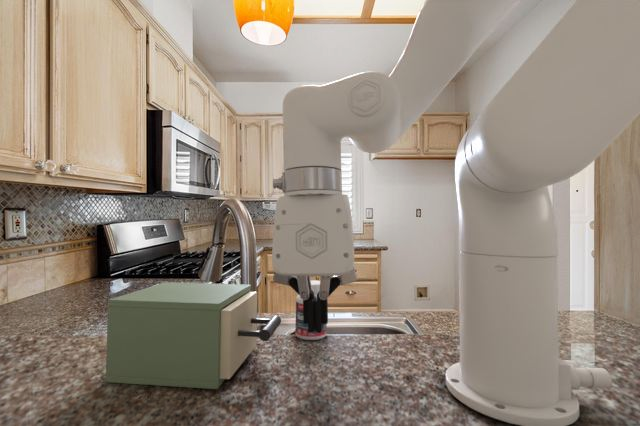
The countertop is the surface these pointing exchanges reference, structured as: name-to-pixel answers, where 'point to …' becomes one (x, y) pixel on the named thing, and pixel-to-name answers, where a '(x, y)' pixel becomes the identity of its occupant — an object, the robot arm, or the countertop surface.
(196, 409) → the countertop surface
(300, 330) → the pill bottle
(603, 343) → the countertop surface
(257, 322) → the drawer
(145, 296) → the cabinet
